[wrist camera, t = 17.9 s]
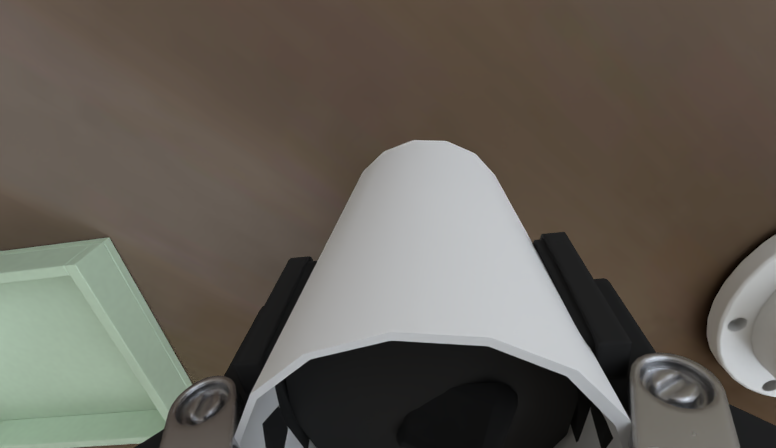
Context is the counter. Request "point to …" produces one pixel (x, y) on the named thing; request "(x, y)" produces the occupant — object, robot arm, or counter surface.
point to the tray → (80, 351)
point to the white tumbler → (431, 324)
